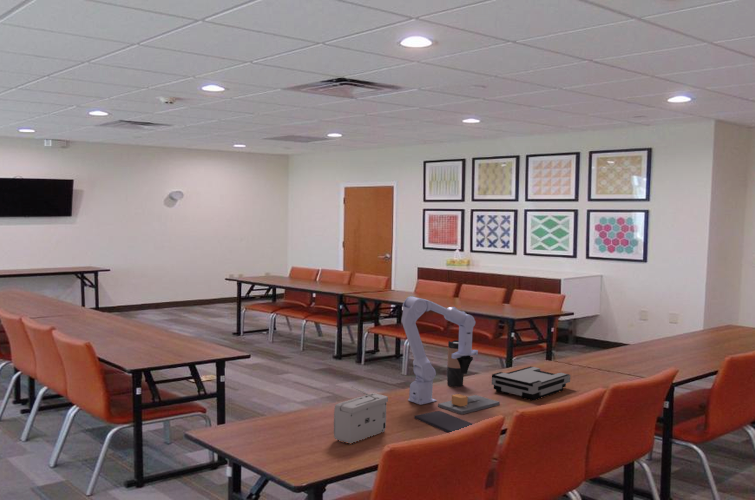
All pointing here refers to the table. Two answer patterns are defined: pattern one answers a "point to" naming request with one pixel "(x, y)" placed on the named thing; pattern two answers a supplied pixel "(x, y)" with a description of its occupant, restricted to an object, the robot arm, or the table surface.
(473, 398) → the fader panel
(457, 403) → the fader knob
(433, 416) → the notebook
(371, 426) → the stereo radio cassette player
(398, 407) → the table surface
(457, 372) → the travel mug
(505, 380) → the game console
